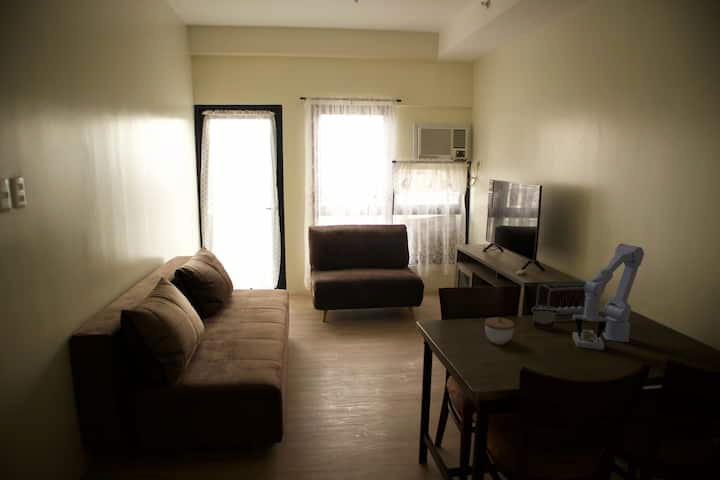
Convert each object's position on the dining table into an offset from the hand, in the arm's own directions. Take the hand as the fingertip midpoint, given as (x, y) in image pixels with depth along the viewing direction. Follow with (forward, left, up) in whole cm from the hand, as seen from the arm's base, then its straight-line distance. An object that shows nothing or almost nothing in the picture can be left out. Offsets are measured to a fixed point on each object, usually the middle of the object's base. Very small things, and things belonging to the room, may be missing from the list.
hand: (588, 336), depth 215 cm
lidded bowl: (+39, +10, -4) cm, 40 cm away
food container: (+18, -17, -4) cm, 25 cm away
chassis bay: (0, 0, -3) cm, 3 cm away
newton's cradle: (+5, -33, -4) cm, 34 cm away
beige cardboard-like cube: (0, 0, -3) cm, 3 cm away
